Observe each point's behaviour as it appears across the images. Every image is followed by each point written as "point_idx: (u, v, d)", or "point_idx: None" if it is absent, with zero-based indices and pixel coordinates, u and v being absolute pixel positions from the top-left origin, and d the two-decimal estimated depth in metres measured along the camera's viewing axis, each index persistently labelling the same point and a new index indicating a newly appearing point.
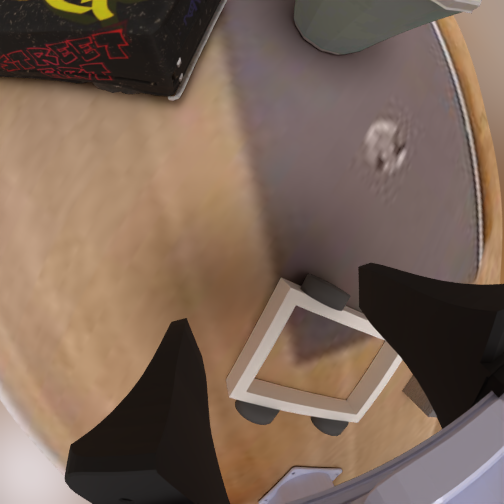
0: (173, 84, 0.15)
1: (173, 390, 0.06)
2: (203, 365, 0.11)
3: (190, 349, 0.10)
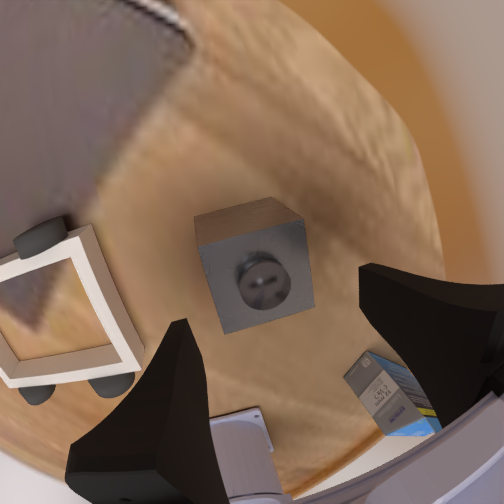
0: None
1: (173, 390, 0.06)
2: (203, 365, 0.11)
3: (190, 349, 0.10)
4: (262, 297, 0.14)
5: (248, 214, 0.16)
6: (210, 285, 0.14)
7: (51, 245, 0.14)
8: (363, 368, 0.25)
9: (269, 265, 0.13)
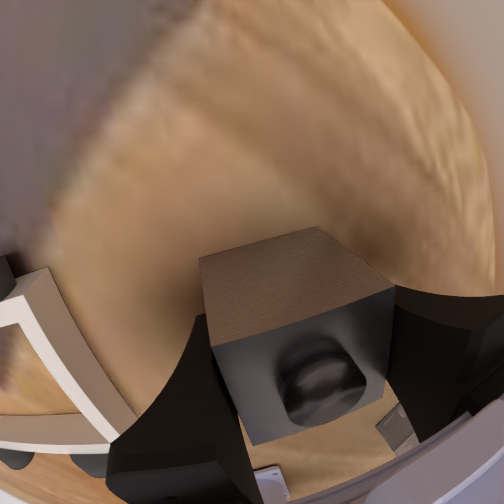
0: None
1: (213, 381, 0.06)
2: None
3: None
4: (320, 412, 0.07)
5: (292, 265, 0.10)
6: (234, 397, 0.07)
7: None
8: (400, 418, 0.18)
9: (340, 372, 0.07)
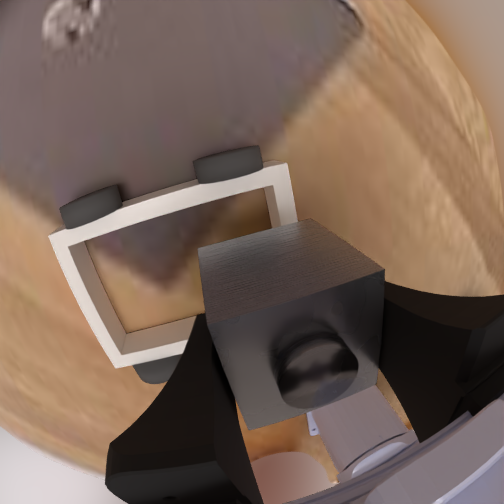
0: None
1: (213, 381, 0.06)
2: None
3: None
4: (313, 393, 0.08)
5: (286, 252, 0.10)
6: (229, 378, 0.08)
7: (259, 168, 0.15)
8: None
9: (331, 351, 0.07)
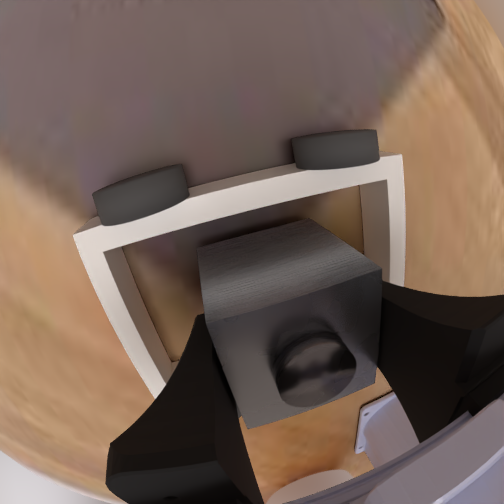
0: None
1: (213, 381, 0.06)
2: None
3: None
4: (311, 392, 0.08)
5: (284, 252, 0.10)
6: (228, 376, 0.08)
7: (379, 157, 0.11)
8: None
9: (329, 350, 0.07)
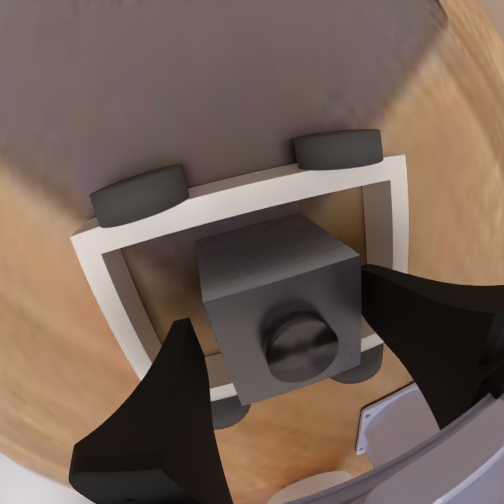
0: None
1: (177, 389, 0.06)
2: None
3: (193, 348, 0.10)
4: (298, 368, 0.09)
5: (274, 242, 0.11)
6: (223, 352, 0.09)
7: (382, 157, 0.10)
8: None
9: (312, 327, 0.08)
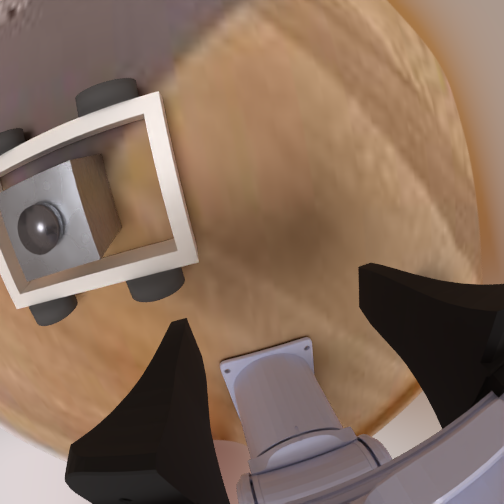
0: None
1: (173, 390, 0.06)
2: (203, 365, 0.11)
3: (190, 349, 0.10)
4: (35, 240, 0.11)
5: None
6: (7, 230, 0.11)
7: (126, 96, 0.13)
8: None
9: (34, 207, 0.11)
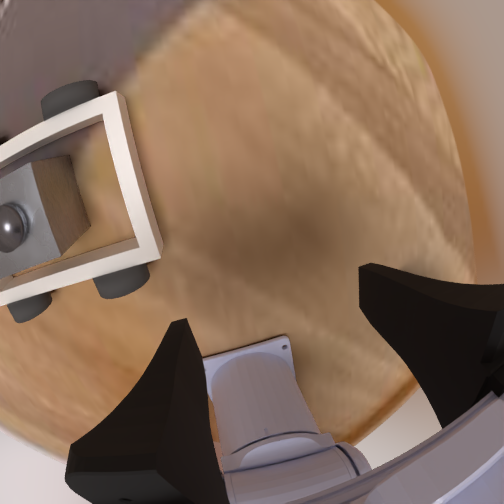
0: None
1: (173, 390, 0.06)
2: (203, 365, 0.11)
3: (190, 349, 0.10)
4: (2, 239, 0.11)
5: None
6: None
7: (84, 98, 0.12)
8: None
9: (0, 208, 0.10)
